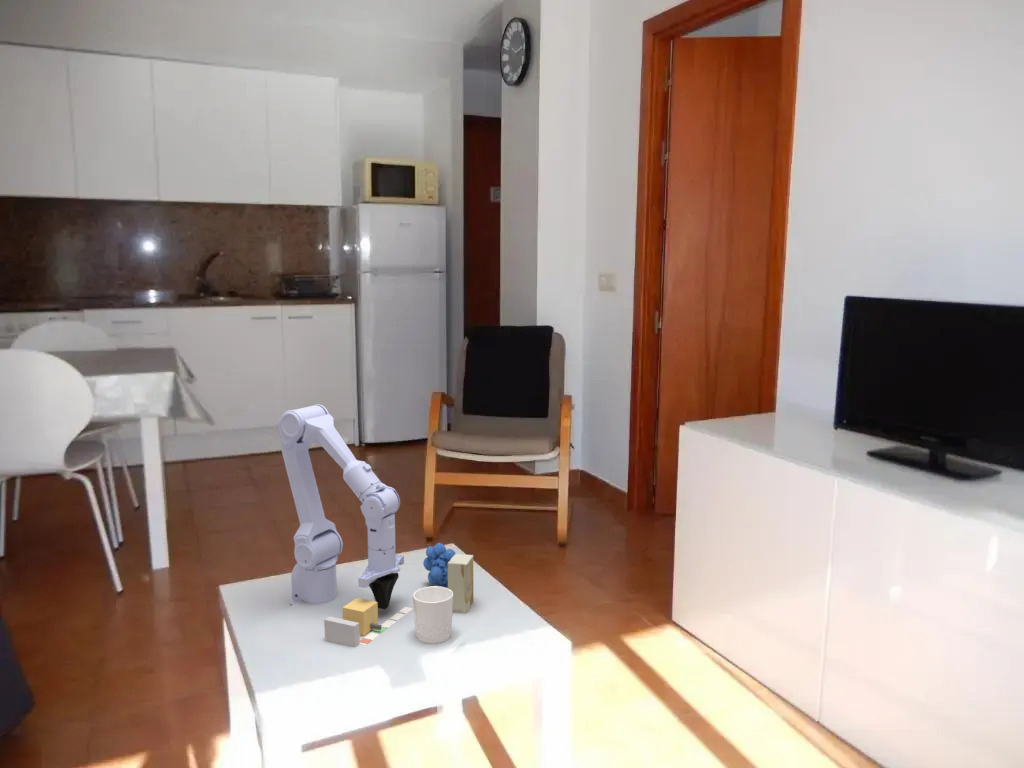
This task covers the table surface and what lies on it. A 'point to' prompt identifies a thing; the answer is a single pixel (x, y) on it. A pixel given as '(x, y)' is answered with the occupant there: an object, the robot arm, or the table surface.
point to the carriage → (362, 614)
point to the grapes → (438, 564)
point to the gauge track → (355, 629)
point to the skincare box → (461, 582)
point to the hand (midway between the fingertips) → (382, 607)
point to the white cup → (433, 613)
